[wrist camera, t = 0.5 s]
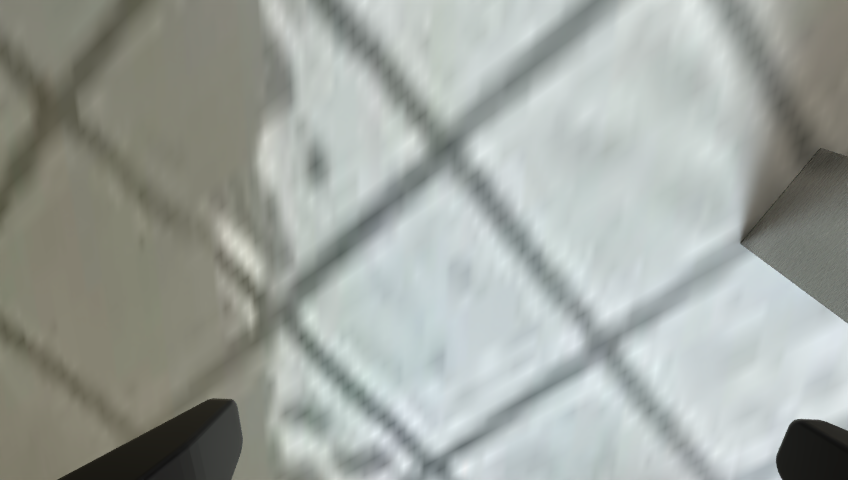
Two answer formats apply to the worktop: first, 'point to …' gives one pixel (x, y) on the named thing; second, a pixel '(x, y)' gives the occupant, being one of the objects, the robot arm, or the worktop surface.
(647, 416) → the worktop surface
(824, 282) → the tall metal block
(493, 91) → the worktop surface
